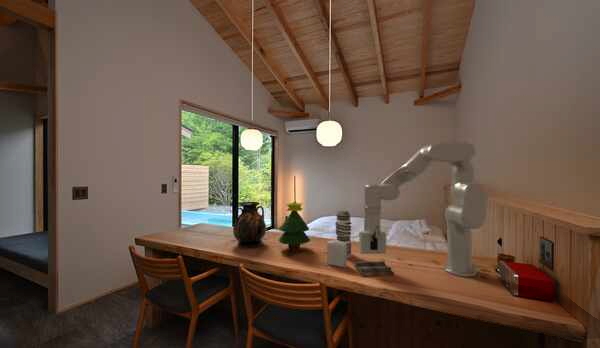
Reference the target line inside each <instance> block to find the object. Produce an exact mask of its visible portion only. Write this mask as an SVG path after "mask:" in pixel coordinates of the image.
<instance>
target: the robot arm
mask: <svg viewBox="0 0 600 348" xmlns="http://www.w3.org/2000/svg"><path fill="white" fill-rule="evenodd" d="M475 156H476V148H475V146H474V145H473V144H471V143H470V142H465V141H461V142H460V141H459V142H458V141H457V142H456V141H455V142H434V143H431V144H430V143H429V144H427V145H424V146H423V147H421V148H420V149H419V150H418V151H417V152H416V153H415V154H414V155H412V157H411V158H409V159H408V160H407V161H406V162H405V163H404V164H403V165H402V166H400V167H399V168H398V169H396V170H395V171H393V173H391V174H390V175H389V176H388V177H386V178H385V179H384V180H383V181H382V182H381V183H380V184H366V185H365V186H364V219H363V221H364V222H363V224H364V225H363V231H366V232H368V234H369V235H371V250H377V249H378V239H379V235H380V232H381V231H382V230H381V216H380V215H381V214H382V200H383V201H395V200H397V199H398V198H399V197H400V195H401V192H400V187H401V186H402V185H404V184H405V183H408V182H411V181H414V180H416V179H417V178H419V177H420V176H421V175H422V174H423V173H424V172H425V171H427V169H429V167H430V166H431V165H432V164H434V163H447V164H448V165H449V167H450V170H451V181H450V182H451V183H450V196H451V198H452V199H453V200H454V201H457V202H462V204H460V203H453V204H450V205H448V206H447V207H446V209H445V212H444V217H445V218H444V219H445V223H446V232H447V233H446V234H447V237H446V238H447V239H446V240H447V242H446V243H447V244H446V245H447V247H446V248H447V253H446V254H447V255H446V256H447V263H446V264H444V265H443V269H444V271H445V272H448V273H449V274H451V275H456V276H459V277H465V278H467V277H468V278H470V277H471V278H472V277H475V276H477V271H476V270H475V269H481V268H482V269H483V265H482V264H481V263H475V262H473V260H472V259H473V249H472V248H473V245H472V244H473V235H472V230H479V229H480V228H482V227H483V225H484V224H485V222H486V221H485V220H486V217H487V206H488V195H489V194H488V190H487V189H486V187H485V186H484V185H482V183H479V182H475V181H474V180H475V171H474V166H473V164H472V163H471V160H472V159H473V158H474V157H475ZM373 234H375V235H373ZM373 236H375V237H373Z"/></svg>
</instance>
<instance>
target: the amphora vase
mask: <svg viewBox="0 0 600 348" xmlns="http://www.w3.org/2000/svg"><path fill="white" fill-rule="evenodd" d="M240 206H241V207H240ZM259 209H261V213H259ZM239 210H241V213H240V214H238V211H239ZM238 215H239V216H238ZM232 233H233V237H234V238H235V239H236V241H237V243H236V245H237V246H238V247H239V248H240V249H241V248H242V249H254V248H258V247H260V246H262V245H263V238H264V237H265V236H266V234H267V225H266V221H265V209H264V208H263V206H262V205H260V202H259V201H244V202H240V203H239V207H236V208H235V211H234V224H233V228H232Z"/></svg>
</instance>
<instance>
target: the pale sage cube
mask: <svg viewBox="0 0 600 348" xmlns="http://www.w3.org/2000/svg"><path fill="white" fill-rule="evenodd" d="M373 235H375V234H373ZM358 237H359V238H358V240H359V241H358V243H359V244H358V246H359V247H358V249H359V250H358V251H359V254H361V255H368V254H369V255H371V254H372V255H374V254H375V255H377V254H378V255H379V254H381V255H382V254H387V232H386V231H384V230H381V232H380V235H379V239H378V249H377V250H371V235H369V234H368V232H366V231H364V230H360V231H359V234H358ZM373 237H375V236H373Z"/></svg>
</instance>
